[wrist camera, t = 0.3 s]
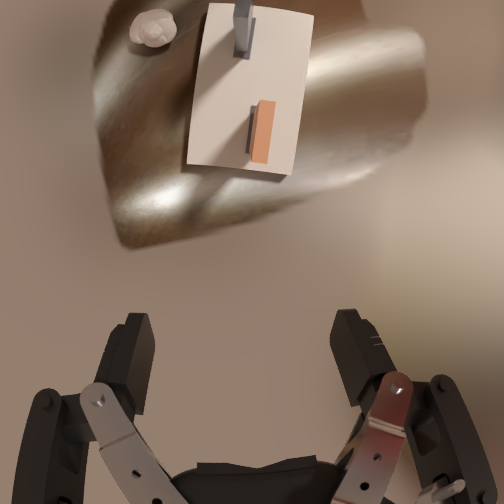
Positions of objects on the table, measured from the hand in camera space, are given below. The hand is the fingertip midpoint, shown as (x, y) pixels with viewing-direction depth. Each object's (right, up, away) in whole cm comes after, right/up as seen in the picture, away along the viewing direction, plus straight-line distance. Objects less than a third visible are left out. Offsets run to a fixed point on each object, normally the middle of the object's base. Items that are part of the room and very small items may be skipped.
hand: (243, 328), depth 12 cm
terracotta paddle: (+1, +18, +20) cm, 27 cm away
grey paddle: (-1, +29, +15) cm, 32 cm away
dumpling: (-12, +32, +16) cm, 38 cm away
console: (0, +24, +19) cm, 31 cm away
